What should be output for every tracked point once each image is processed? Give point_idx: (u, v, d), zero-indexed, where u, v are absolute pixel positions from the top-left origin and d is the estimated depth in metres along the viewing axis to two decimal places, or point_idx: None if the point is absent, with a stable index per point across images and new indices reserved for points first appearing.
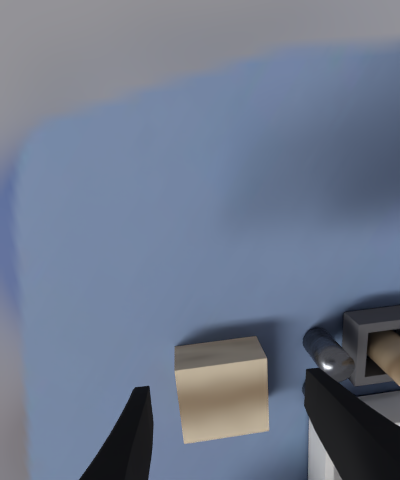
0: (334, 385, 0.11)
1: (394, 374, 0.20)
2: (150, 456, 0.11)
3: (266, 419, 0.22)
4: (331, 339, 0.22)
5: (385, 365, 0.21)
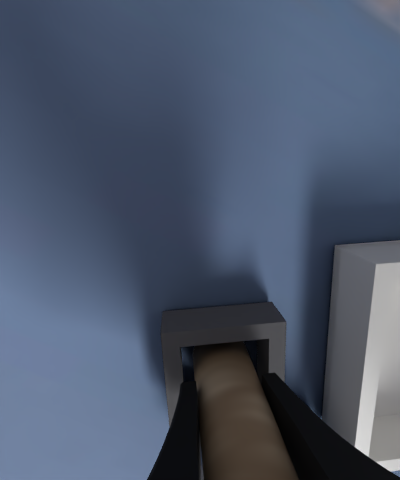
0: (284, 391, 0.11)
1: None
2: (200, 450, 0.11)
3: None
4: None
5: None
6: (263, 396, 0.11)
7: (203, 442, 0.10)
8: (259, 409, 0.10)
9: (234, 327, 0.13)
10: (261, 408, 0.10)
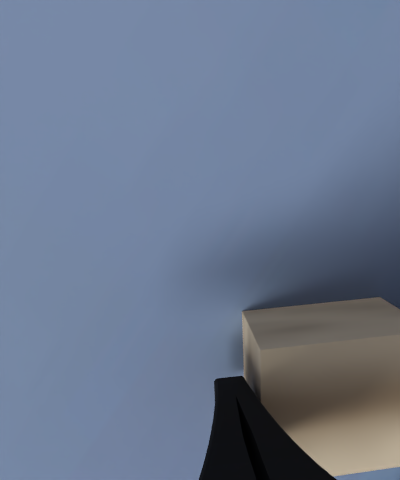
0: (247, 395, 0.11)
1: None
2: None
3: None
4: None
5: None
6: None
7: None
8: None
9: None
10: None
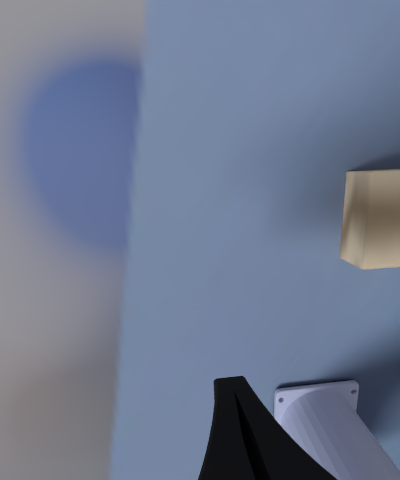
0: (247, 395, 0.11)
1: None
2: None
3: None
4: None
5: None
6: None
7: None
8: None
9: None
10: None
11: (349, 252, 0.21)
